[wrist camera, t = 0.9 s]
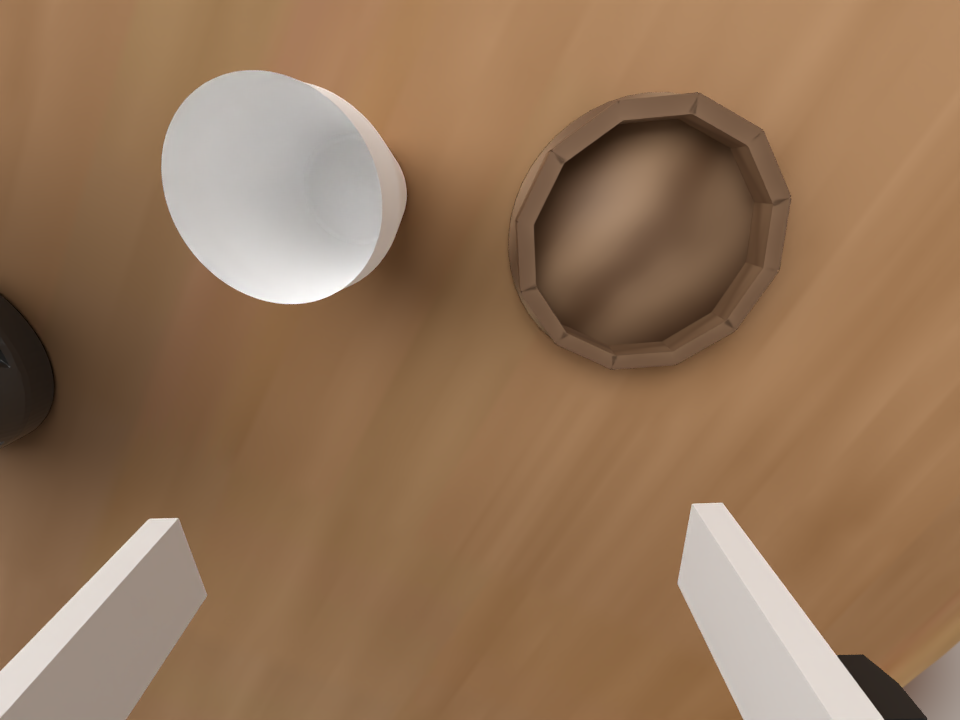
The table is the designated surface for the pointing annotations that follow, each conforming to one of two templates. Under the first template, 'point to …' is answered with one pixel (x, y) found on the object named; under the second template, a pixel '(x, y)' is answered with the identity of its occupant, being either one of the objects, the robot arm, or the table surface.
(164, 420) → the table surface
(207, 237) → the cup
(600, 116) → the round tray
